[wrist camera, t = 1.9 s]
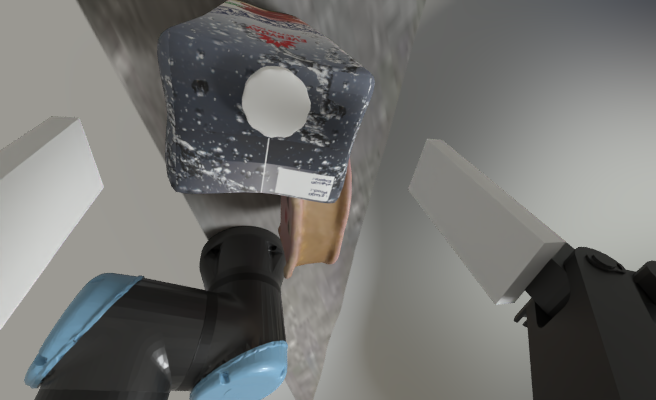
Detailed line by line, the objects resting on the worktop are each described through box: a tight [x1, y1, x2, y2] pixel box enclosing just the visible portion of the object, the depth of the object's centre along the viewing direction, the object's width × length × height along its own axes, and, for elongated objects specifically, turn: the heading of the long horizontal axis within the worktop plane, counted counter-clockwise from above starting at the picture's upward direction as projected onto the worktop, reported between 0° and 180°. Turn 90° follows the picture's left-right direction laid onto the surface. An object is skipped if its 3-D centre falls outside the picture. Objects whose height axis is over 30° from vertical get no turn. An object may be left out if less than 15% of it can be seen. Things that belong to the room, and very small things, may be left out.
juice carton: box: [157, 0, 375, 203], centre depth 24 cm, size 9×10×27 cm
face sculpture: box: [278, 158, 352, 279], centre depth 38 cm, size 20×7×17 cm, turn 174°
